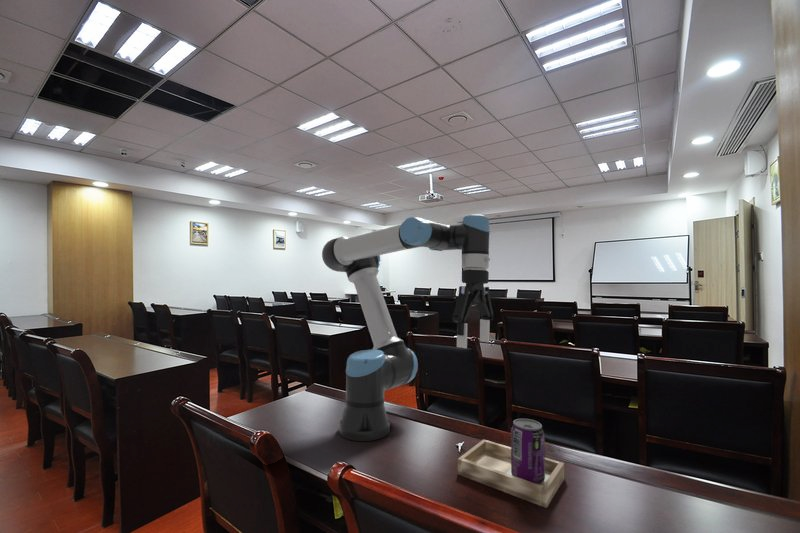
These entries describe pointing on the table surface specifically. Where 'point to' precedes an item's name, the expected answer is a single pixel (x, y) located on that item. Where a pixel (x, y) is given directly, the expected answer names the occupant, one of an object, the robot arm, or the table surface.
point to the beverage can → (528, 450)
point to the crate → (509, 473)
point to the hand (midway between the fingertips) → (473, 344)
